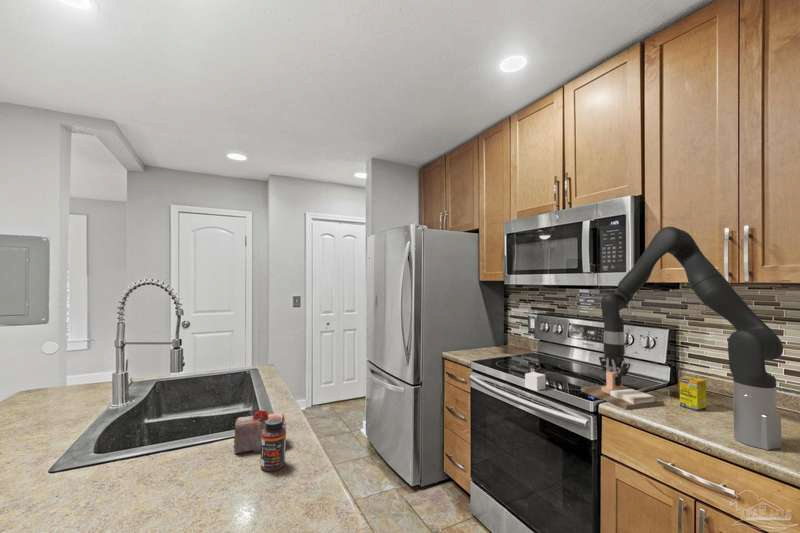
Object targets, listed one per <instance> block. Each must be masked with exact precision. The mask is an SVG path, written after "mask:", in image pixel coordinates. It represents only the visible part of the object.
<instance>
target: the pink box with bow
mask: <svg viewBox="0 0 800 533" xmlns="http://www.w3.org/2000/svg"><path fill="white" fill-rule="evenodd" d="M253 414H254V415H250V416H249V415H248V416H241V417H238V418H237V419H235V421H234V437H233V453H234V454H235V455H236V454H240V453H247V452H252V451H254V452H257V453H258V452H260V453H261V435H262V432H263V430H264V429H266V421H267V420H270V419H274V418H279V419H282V427H284V428H285V430H286V431H287V420H286V417H285V416H284V413H283V412H276V413H268V411H267V410H261V409H259V410H257V411H255V412H254V413H253Z"/></svg>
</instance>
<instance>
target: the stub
mask: <svg viewBox="0 0 800 533" xmlns="http://www.w3.org/2000/svg"><path fill="white" fill-rule="evenodd" d="M605 373H606V375H605V376H606V377H605V380H606V381H605V382H606V384H605V385H606V387H601V391H603V392H605V393H608V394H610V390H613V389H624V388H629V387H627V386H624V385H623V383H622V384H621V386H616V385H615V371H614V370H613V371H609V372H605ZM618 373H619V371H618Z"/></svg>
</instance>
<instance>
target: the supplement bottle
mask: <svg viewBox="0 0 800 533" xmlns="http://www.w3.org/2000/svg"><path fill="white" fill-rule="evenodd" d="M286 440H287V429H286V430H285V428H284V427H282V419H279V418H274V419H270V420H267V421H266V429H264V430H263V432H262V435H261V451H260V469H262V470H263V471H266V472H274V471H277V470H280V469H282V468H283V467H284V466H285V464H286V450H287V449H286V446H287V445H286Z"/></svg>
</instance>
